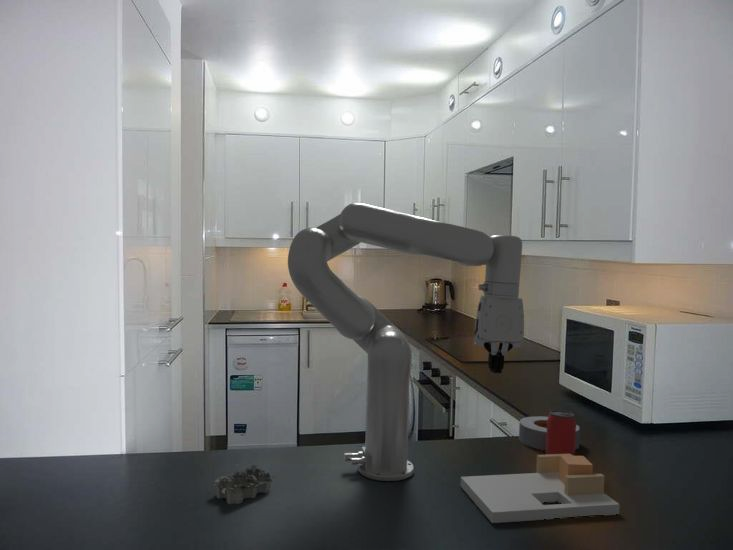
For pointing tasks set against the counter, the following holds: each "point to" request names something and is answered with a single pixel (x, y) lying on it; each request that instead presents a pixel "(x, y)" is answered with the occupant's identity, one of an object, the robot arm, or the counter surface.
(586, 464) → the block
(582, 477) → the white flat board
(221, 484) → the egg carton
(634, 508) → the counter surface
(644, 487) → the counter surface
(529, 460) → the counter surface
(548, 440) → the beer can
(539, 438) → the tape roll
